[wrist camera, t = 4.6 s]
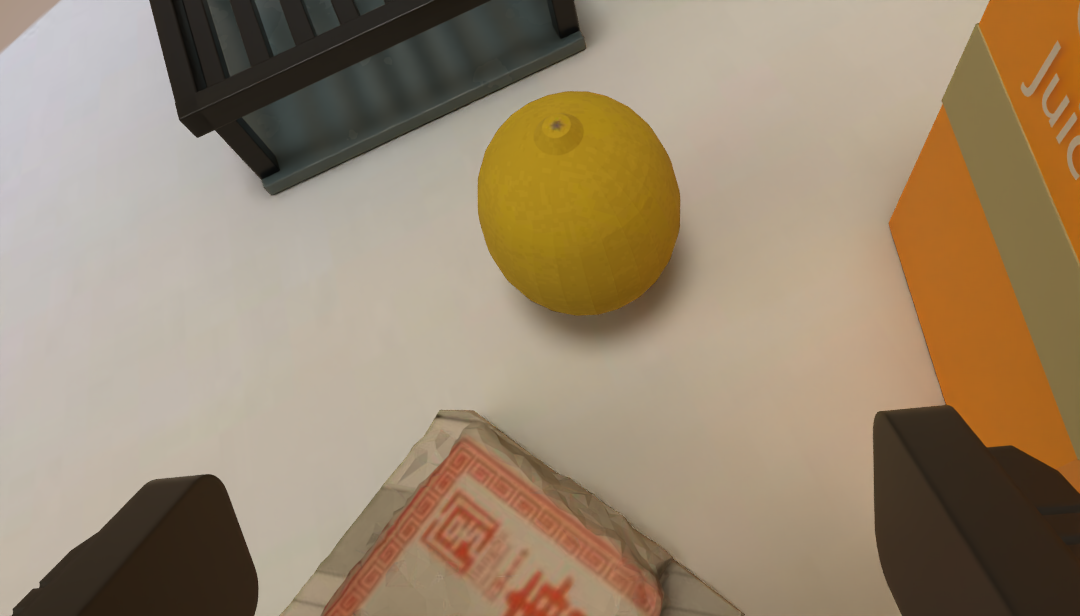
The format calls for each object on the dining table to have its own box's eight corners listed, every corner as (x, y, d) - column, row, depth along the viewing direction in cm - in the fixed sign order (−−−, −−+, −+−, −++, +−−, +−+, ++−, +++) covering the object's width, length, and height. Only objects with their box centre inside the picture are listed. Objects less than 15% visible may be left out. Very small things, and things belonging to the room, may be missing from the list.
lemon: (515, 360, 25) (439, 242, 17) (512, 209, 27) (443, 49, 20) (692, 343, 24) (690, 212, 16) (673, 188, 26) (664, 13, 19)
